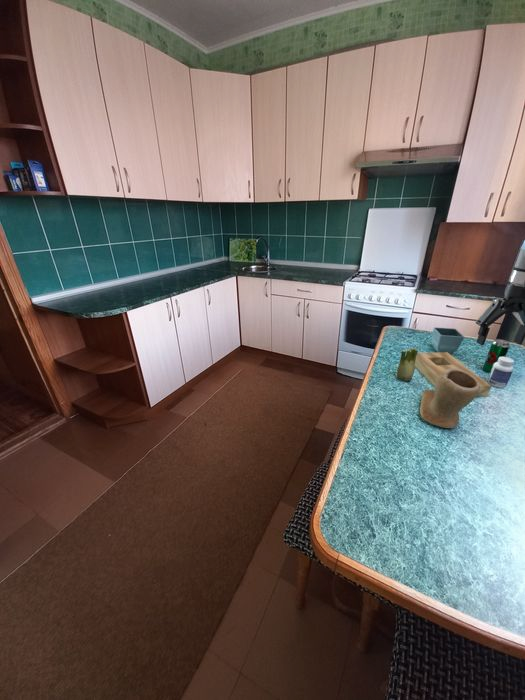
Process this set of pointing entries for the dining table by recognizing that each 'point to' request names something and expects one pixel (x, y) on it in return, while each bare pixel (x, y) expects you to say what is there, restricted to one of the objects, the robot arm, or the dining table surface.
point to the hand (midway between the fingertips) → (498, 343)
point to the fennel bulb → (407, 365)
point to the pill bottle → (501, 372)
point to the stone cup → (448, 398)
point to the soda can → (495, 353)
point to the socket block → (445, 368)
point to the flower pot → (446, 339)
